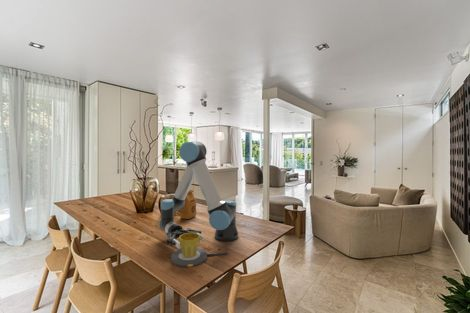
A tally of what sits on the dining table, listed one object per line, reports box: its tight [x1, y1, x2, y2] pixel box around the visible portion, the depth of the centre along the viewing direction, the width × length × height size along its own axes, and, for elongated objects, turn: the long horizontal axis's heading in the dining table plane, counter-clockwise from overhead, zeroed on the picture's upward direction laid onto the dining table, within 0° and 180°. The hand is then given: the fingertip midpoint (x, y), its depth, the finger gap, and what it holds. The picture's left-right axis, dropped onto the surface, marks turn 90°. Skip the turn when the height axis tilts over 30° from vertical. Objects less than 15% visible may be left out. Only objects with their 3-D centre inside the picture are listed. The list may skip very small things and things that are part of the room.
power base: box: [170, 247, 229, 268], centre depth 119 cm, size 30×18×2 cm, turn 104°
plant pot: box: [178, 233, 201, 258], centre depth 117 cm, size 10×10×10 cm
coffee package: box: [179, 189, 197, 220], centre depth 184 cm, size 10×12×22 cm
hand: (191, 242), depth 115 cm, fingers open, 13 cm apart
